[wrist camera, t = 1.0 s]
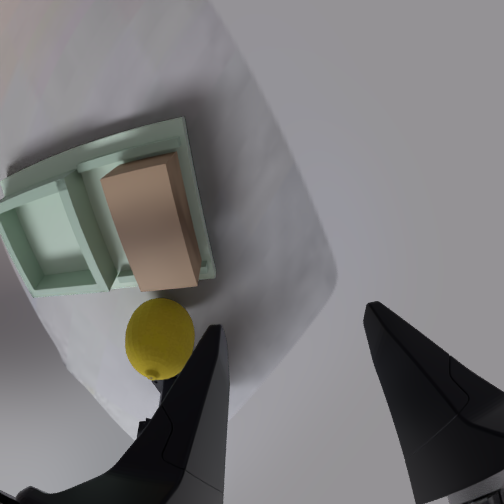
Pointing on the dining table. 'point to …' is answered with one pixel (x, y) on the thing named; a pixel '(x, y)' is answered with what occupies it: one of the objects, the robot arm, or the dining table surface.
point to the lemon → (159, 338)
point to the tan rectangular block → (154, 222)
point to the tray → (87, 213)
